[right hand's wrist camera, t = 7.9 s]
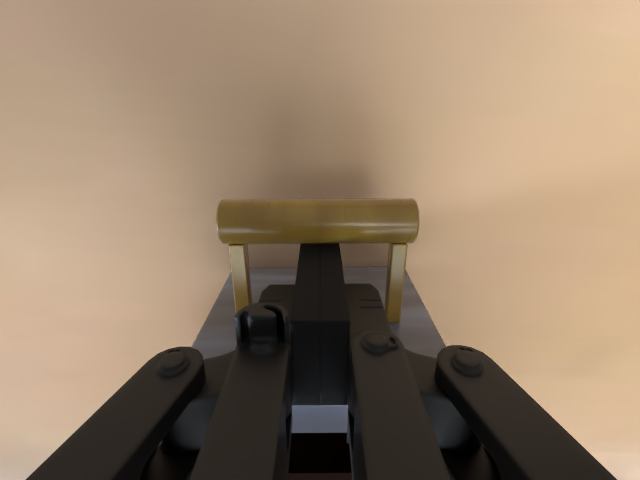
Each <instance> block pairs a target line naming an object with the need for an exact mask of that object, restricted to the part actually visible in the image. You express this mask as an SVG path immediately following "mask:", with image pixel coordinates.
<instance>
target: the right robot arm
mask: <svg viewBox="0 0 640 480" xmlns="http://www.w3.org/2000/svg"><path fill="white" fill-rule="evenodd" d="M234 322H235V331H236V340H237V346H236V349H235V350H234V351H232V352H229V353H227V354H224V355H221V356H217V357H212V358H208V359H204V360H203V355H202V354H201V353H200V352H199V350H197V349H194V348H191V347H176V348H171V349H168V350H165V351H163V352H161V353H159V354H157V355H156V356H154V357H153V358H152V359H150V360H149V361H148V362H147V363H146V364H145V365H144V366H143V367H142V368H141V369H140V370H139V371H138V372H136V373H135V374H134V375H133V376H132V377H131V378H130V379H129V380H128V381H127V382H126V383H125V384H124V385H123V386H122V387H121V388H120V389H119V390H118V391H117V392H116V393H115V394H114V395H113V396H112V397H111V398H110V399H109V400H108V401H107V402H105V403H104V404H103V405H102V406H101V407H100V408H99V409H98V410H97V411H96V412H95V413H94V414H93V415H92V416H91V417H90V418H89V419H88V420H87V421H86V422H85V423H84V424H83V425H82V426H81V427H80V428H79V429H78V430H77V431H76V432H75V433H73V434H72V435H71V436H70V437H69V438H68V439H67V440H66V441H65V442H64V443H63V444H62V445H61V446H60V447H59V448H58V449H57V450H56V451H55V452H54V453H53V454H52V455H51V456H50V457H49V458H48V459H47V460H46V461H45V462H44V463H42V464H41V465H40V466H39V467H38V468H37V469H36V470H35V471H34V472H33V473H32V474H31V475H30V476H29V477H28V478H27V479H26V480H288V470H289V458H290V446H291V435H292V423H293V421H292V402H293V405H347V401H348V421H347V443H349V446H350V458H351V470H352V480H617V479H616V478H615V477H614V476H613V475H612V474H611V473H610V472H608V471H607V470H606V469H605V468H604V467H603V466H602V465H601V464H600V463H599V462H598V461H597V460H596V459H595V458H594V457H593V456H592V455H591V454H590V453H589V452H588V451H587V450H586V449H585V448H584V447H582V446H581V445H580V444H579V443H578V442H577V441H576V440H575V439H574V438H573V437H572V436H571V435H570V434H569V433H568V432H567V431H566V430H565V429H564V428H563V427H562V426H561V425H560V424H559V423H558V422H556V421H555V420H554V419H553V418H552V417H551V416H550V415H549V414H548V413H547V412H546V411H545V410H544V409H543V408H542V407H541V406H540V405H539V404H538V403H537V402H536V401H535V400H534V399H533V398H532V397H530V396H529V395H528V394H527V393H526V392H525V391H524V390H523V389H522V388H521V387H520V386H519V385H518V384H517V383H516V382H515V381H514V380H513V379H512V378H511V377H510V376H509V375H508V374H507V373H506V372H504V371H503V370H502V369H501V368H500V367H499V366H498V365H497V364H496V363H495V362H494V361H493V360H492V359H491V358H489V357H488V356H487V355H485V354H484V353H483V352H480V351H478V350H476V349H474V348H471V347H466V346H461V345H452V346H448V347H445V348H442V349H441V350H440V352H439V353H438V355H437V358H434V357H429V356H425V355H421V354H417V353H414V352H411V351H409V350H407V349H405V348H404V345H403V343H402V342H401V340H400V339H399V338H398V337H397V336H396V335H394V334H393V333H392V331H391V328H390V325H389V322H388V319H387V316H386V313H385V309H384V306H383V303H382V301H381V297H380V294H379V291H378V290H377V289H376V288H375V287H374V286H373V285H371V284H370V283H345V282H344V275H343V268H342V261H341V254H340V247H339V243H301V247H300V254H299V261H298V268H297V275H296V282H295V284H270V285H269V286H268V287H266V288H265V289H264V290H263V291H262V292H261V295H260V298H259V302H258V303H254V304H251V305H248V306H245V307H244V308H242V309H240V310H239V311H238V312H237V313H236V315H235V316H234Z"/></svg>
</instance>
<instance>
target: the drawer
mask: <svg viewBox="0 0 640 480" xmlns="http://www.w3.org/2000/svg"><path fill="white" fill-rule="evenodd" d="M216 226H217V233H218V237H219V239H220V241H221V243H223V244H229V255H230V264H231V273H230V275H229V277H228V279H227V281H226V283H225V285H224V287H223V289H222V290H221V292H220V294H219V296H218V298H217V300H216V302H215V304H214V306H213V307H212V309H211V311H210V313H209V315H208V317H207V319H206V321H205V323H204V324H203V326H202V328H201V330H200V332H199V334H198V336H197V338H196V340H195V342H194V343H193V345H192V347H191V348H194V349H197V350H199V352H200V353H201V354H202V355H203V360H204V359H208V358H212V357H217V356H221V355H224V354H227V353H229V352H232V351H234V350H235V349H236V346H237V340H236V331H235V322H234V316H235V315H236V313H237V312H238V311H239V310H240V309H242V308H244V307H245V306H248V305H251V304H254V303H258V302H259V298H260V295H261V292H262V291H263V290H264V289H265V288H266V287H268V286H269V285H270V284H295V282H296V275H297V268H298V267H259V268H249V259H248V248H247V244H294V243H389V252H388V265H387V267H342V268H343V275H344V282H345V283H370V284H371V285H373V286H374V287H375V288H376V289H377V290H378V291H379V294H380V297H381V301H382V303H383V306H384V309H385V313H386V316H387V319H388V322H389V325H390V328H391V331H392V333H393V334H394V335H396V336H397V337H398V338H399V339H400V340H401V342H402V343H403V345H404V348H405V349H407V350H409V351H411V352H414V353H417V354H421V355H425V356H429V357H434V358H437V355H438V353H439V352H440V350H441V349H442V348H445V347H446V346H445V344H444V342H443V340H442V338H441V336H440V334H439V332H438V330H437V329H436V327H435V325H434V323H433V321H432V319H431V317H430V315H429V313H428V312H427V310H426V308H425V306H424V304H423V302H422V300H421V298H420V296H419V295H418V293H417V291H416V289H415V287H414V285H413V283H412V281H411V279H410V277H409V276H408V274H407V272H406V270H405V265H406V255H407V243H413V242H414V241H415V240H416V238H417V235H418V230H419V210H418V206H417V203H416V201H415V200H414V199H252V200H221V201H220V203H219V205H218V209H217V215H216ZM292 421H293V423H292V435H291V446H290V458H289V470H288V473H352V470H351V458H350V446H349V443H347V421H348V401H347V405H293V402H292Z"/></svg>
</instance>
